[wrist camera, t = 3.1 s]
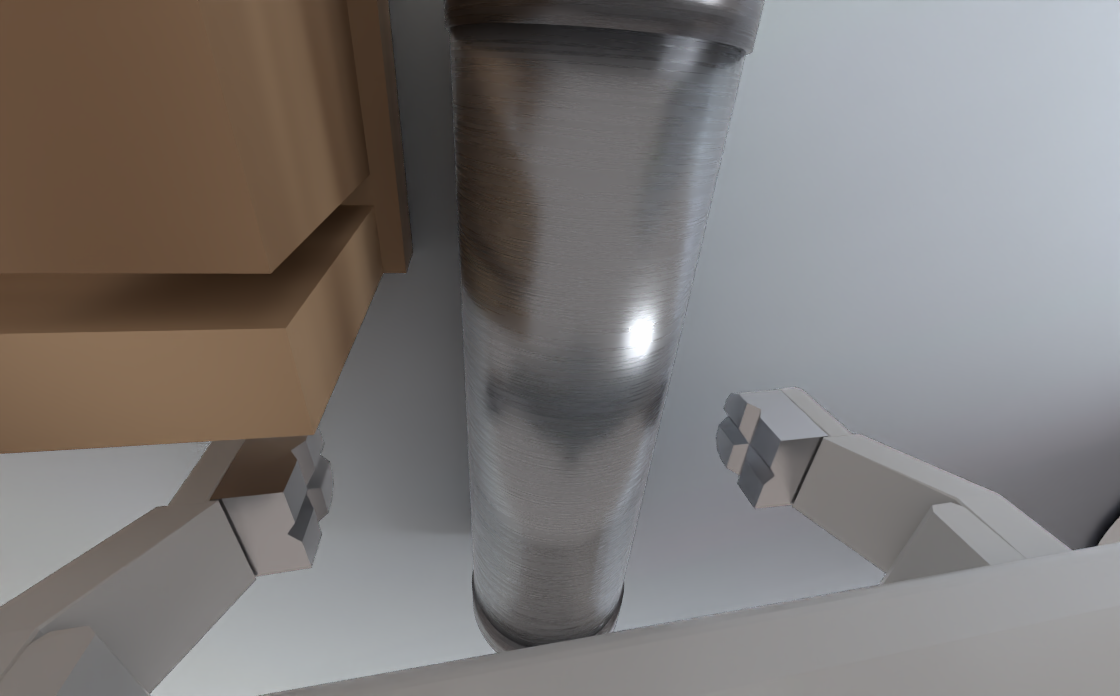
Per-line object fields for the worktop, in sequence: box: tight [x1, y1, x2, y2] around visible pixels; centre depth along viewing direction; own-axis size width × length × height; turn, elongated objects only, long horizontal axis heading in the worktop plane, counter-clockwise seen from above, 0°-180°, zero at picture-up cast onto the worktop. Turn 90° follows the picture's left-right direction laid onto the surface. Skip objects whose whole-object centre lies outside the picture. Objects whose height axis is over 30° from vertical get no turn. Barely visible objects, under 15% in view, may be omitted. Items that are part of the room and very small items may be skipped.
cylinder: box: [444, 0, 765, 653], centre depth 9 cm, size 4×14×4 cm, turn 176°
